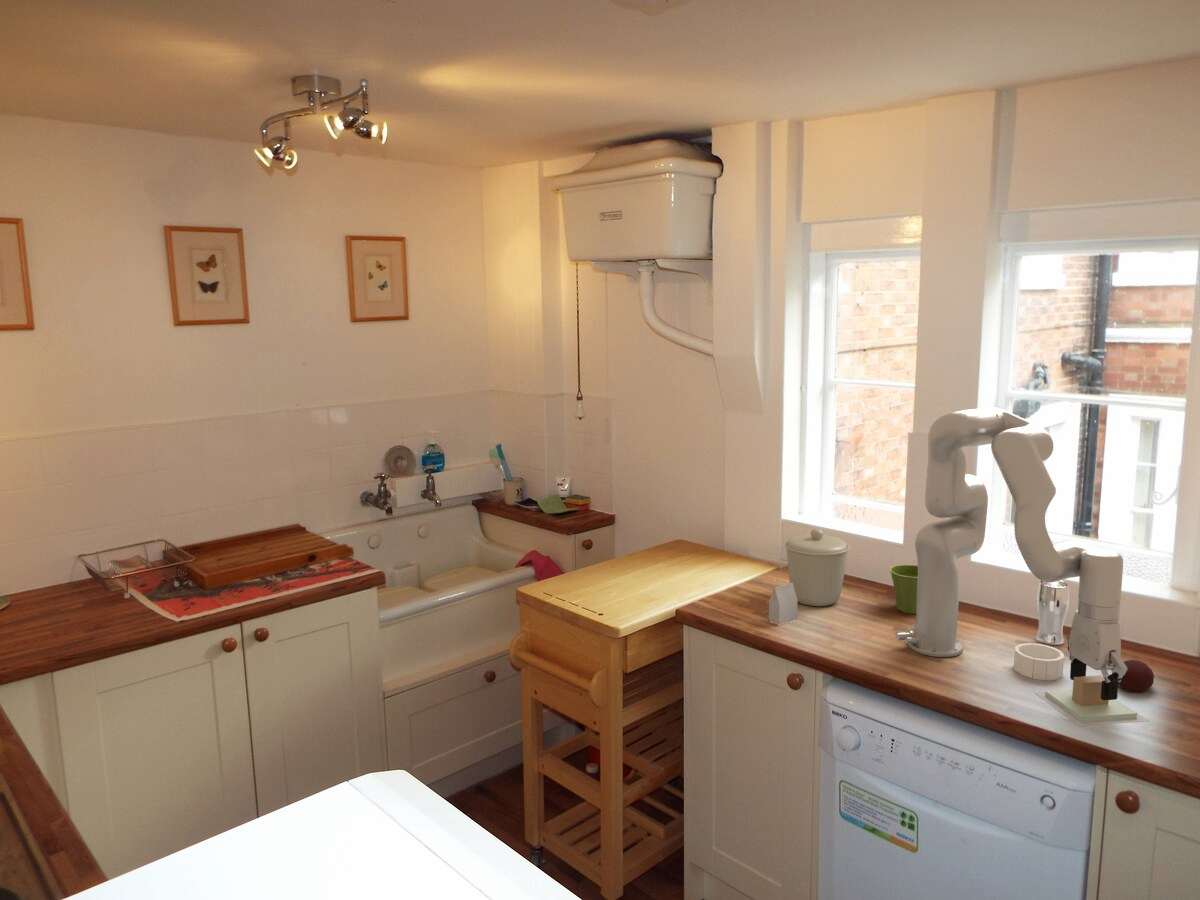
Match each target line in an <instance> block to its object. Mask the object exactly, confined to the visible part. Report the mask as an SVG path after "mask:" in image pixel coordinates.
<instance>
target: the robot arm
mask: <svg viewBox="0 0 1200 900" xmlns="http://www.w3.org/2000/svg"><path fill="white" fill-rule="evenodd" d="M928 430H929V431H928V436H927V455H928V456H927V457H928V458H927V467H926V479H925V480H926V481H925V492H924V493H925V494H924V505H925V509H926V511H927V512H928V514H929V515H930V516H932V517H934V518H941V519H942V518H943V519H944V518H945V519H944V520H939V521H938V520H937V521H935V522H930V523H929V524H925V526H923V527H921V528H920V529H919V530H918V532H917V533H916V536H915V540H914V547H915V553H916V559H917V560H916V563H917V565H918V581H917V604H916V614H915V626H911V628H910V630H908V631H907V632H904V631H902V632H901V631H900V632H896V633H895V639H896V641H905V643H906V644H908V647H909V649H911V650H913V651H914V652H916V653H919V654H922V655H923V656H924V655H925V656H930V657H936V658H950V657H951V658H952V657H956V656H958V655H960V654H962V653H963V650H964V645H963V644H962V643H961V642H960V641H959V640H958V639H957V634H958V620H959V619H958V617H959V601H960V580H961V579H960V574H959V571H958V567H957V566H956V560H957V559H960V558H964V557H968V556H971V555H974V554H976V553H977V552H978V551H980V550H981V548H982V546H983V544H984V541H985V535H986V527H987V526H986V525H987V516H988V506H989V504H988V503H989V496H988V490H987V488H986V486H985V484H984V482H983V481H982V480H981V479H980V478H979V477H977V476H976V475H974V474H970V473H966V470H967V458H966V456H965V451H964V450H963V448H964V449H965V448H969V447H976V446H984V445H990V448H991V450H990V451H991V452H992V453H991V454H992V455H993V459H995V463H996V464H997V466H998V468H999V472H1000V473H1001V475H1002V478H1003V479H1004V481H1005V484H1006V486H1007V488H1008V490H1009V493H1010V495H1011V497H1012V499H1013V502H1014V503H1015V504H1014V505H1015V511H1014V518H1013V519H1014V520H1013V521H1014V524H1013V525H1014V537H1015V541H1016V544H1017V547H1018V550H1019V553H1020V554H1021V556H1022V559H1023V561H1024V562H1025V564H1026V566H1027V568H1028V569H1029V571H1030V572H1031V574H1032V575H1033V576H1034V577H1035V578H1037V579H1038V580H1039V581H1040V580H1042V581H1044V582H1057V581H1060V580H1061V581H1065V580H1067V579H1071V578H1077V577H1078V578H1079V580H1078V594H1077V595H1078V596H1077V610H1075V612H1074V615H1073V619H1072V623H1071V627H1070V634H1069V635H1066V637H1065V638H1066V639H1065V640H1066V644H1067V651H1068V653H1069V656H1068V657H1069V661H1070V671H1069V679H1070V680H1071V681H1073V680H1074V677H1082V676H1087V666H1088V667H1090V668H1091V669H1092V670H1093V669H1094V670H1095V671H1100V672H1101V676H1103V678H1104V680H1105V681H1102V686H1101V699H1102V700H1117V699H1118V695H1119V694H1118V692H1119V684H1118V682H1120V681H1121V679H1123V678H1124V675H1125V673H1126V671H1127V666H1126V665H1125V664H1124V660H1122V658H1121V655H1122V654H1121V651H1122V649H1121V647H1122V640H1121V637H1122V636H1121V626H1120V625H1121V624H1120V615H1121V614H1120V612H1121V602H1122V601H1121V599H1122V598H1121V597H1122V586H1123V571H1124V559H1123V556H1122V555H1121V554H1120V553H1119V552H1116V551H1114V550H1110V549H1104V548H1098V547H1094V546H1091V545H1089V544H1087V543H1085V542H1082V541H1079V540H1075V539H1073V540H1072V539H1068V540H1064V541H1060V542H1056V543H1053V542H1052V540H1051V538H1050V537H1051V536H1050V535H1049V532H1048V530H1047V526H1046V513H1047V510H1048V508H1049V505H1050V504H1051V502H1052V500H1053V499H1054V498H1055V495H1056V493H1057V490H1056V487H1055V484H1054V483H1053V481H1052V480H1053V479H1051V476H1050V474H1049V472H1048V469H1047V468H1046V466H1045V464H1044V462H1045V461H1046V460H1048V459H1049V458H1050V457H1051V456H1052V454H1053V451H1054V441H1053V438H1052V436H1051V434H1049V432H1048V430H1046V429H1045V428H1043V427H1042V426H1040V425H1039V424H1037V423H1034V422H1032V421H1030V420H1027V419H1025V418H1023V417H1021V416H1019V415H1016V414H1013V413H1012V412H1009V411H1007V410H1004V409H1001V408H998V407H983V408H981V407H980V408H971V409H962V410H957V411H952V412H949V413H946V414H942V416H940V417H938V418H937V419H936V420H935V421H934V422H933V423H932V424H931V426H930V427H929V429H928ZM946 518H949V519H946ZM1109 671H1111V674H1109Z"/></svg>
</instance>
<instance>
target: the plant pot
mask: <svg viewBox="0 0 1200 900" xmlns="http://www.w3.org/2000/svg"><path fill="white" fill-rule="evenodd" d="M888 571H889V573H890V574H891V580H892V582H893V590H894V597H895V602H896V603H895V605H896V609H897V610H898V611H901V612H902V613H905V614H911V615H916V604H917V581H918V564H897V565H892V566H890V567H889V568H888Z"/></svg>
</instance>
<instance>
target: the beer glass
mask: <svg viewBox="0 0 1200 900" xmlns="http://www.w3.org/2000/svg"><path fill="white" fill-rule="evenodd" d="M1036 597H1037V598H1036V606H1037V607H1036V609H1037V616H1038V630H1037V633H1036V637H1035V639H1036V641H1037V642H1039V643H1040V644H1041V643H1042V644H1043V645H1047V646H1061V645H1062V644H1064V641H1065V640H1064V632H1063V629H1064V624H1065V621H1066V617H1067V613H1068V610H1069V603H1070V584H1069V582H1066V581H1065V580H1060V581H1057V582H1044V581H1042V580H1039V584H1038V588H1037V595H1036Z"/></svg>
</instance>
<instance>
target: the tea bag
mask: <svg viewBox="0 0 1200 900" xmlns="http://www.w3.org/2000/svg"><path fill="white" fill-rule="evenodd" d="M768 603H769V604H768V621H769V620H770V621H772V622H775V623H777V624H782V623H786V622H790V621H793V620H798V601H797V596H796V593H795V590H794V586H793V583H790V582H789V583H785V584H781V585H778V586H774V587H773V590H772V594H771V596H770V597H769V600H768ZM793 622H794V621H793ZM790 623H791V622H790Z"/></svg>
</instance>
